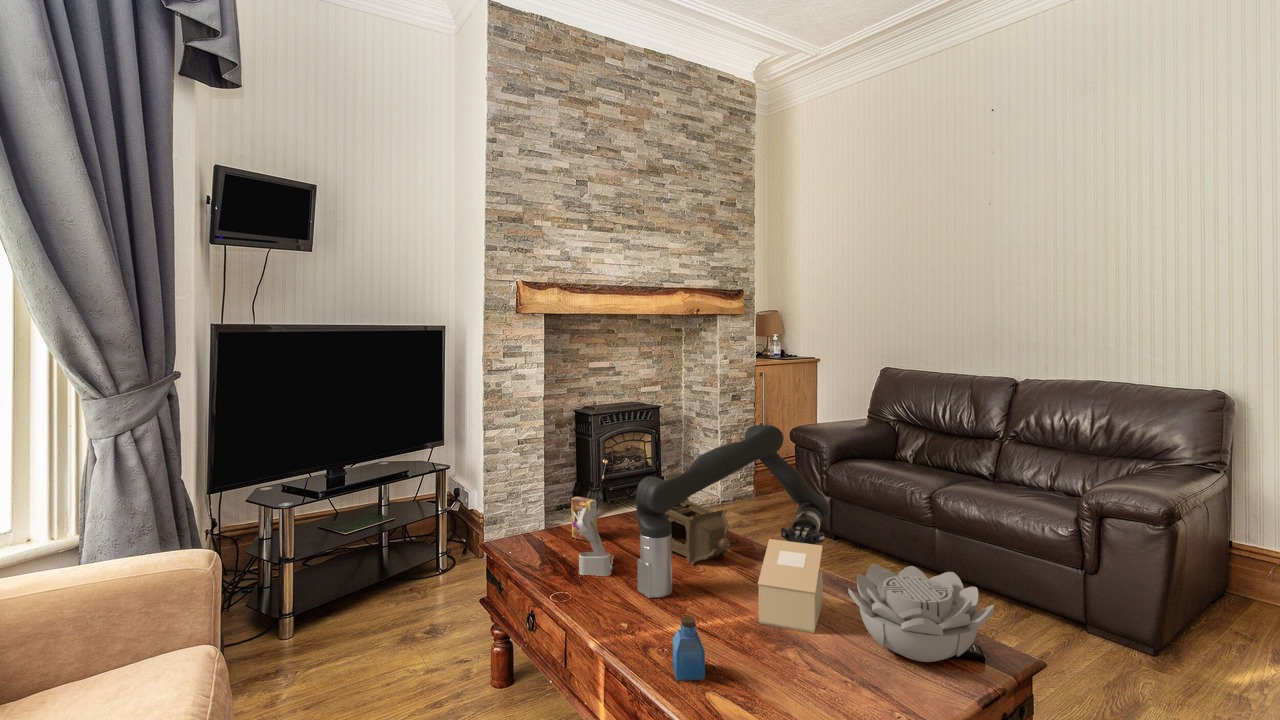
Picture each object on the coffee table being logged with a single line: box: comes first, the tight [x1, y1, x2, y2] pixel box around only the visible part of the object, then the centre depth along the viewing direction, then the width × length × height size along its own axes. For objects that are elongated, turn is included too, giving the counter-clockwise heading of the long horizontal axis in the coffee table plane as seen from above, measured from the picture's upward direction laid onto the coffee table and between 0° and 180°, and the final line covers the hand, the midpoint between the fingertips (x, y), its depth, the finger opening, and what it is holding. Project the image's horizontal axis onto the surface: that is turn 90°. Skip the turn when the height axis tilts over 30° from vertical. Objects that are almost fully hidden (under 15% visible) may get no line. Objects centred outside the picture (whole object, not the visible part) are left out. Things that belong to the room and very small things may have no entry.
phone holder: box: [577, 507, 615, 576], centre depth 196 cm, size 17×10×18 cm, turn 178°
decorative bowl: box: [848, 563, 995, 663], centre depth 143 cm, size 30×30×15 cm
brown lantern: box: [665, 497, 731, 566], centre depth 207 cm, size 35×18×18 cm, turn 36°
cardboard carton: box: [758, 569, 823, 634], centre depth 162 cm, size 16×14×10 cm
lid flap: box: [757, 538, 824, 594], centre depth 160 cm, size 16×14×1 cm
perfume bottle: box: [672, 615, 706, 681], centre depth 135 cm, size 6×6×12 cm
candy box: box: [570, 495, 598, 541], centre depth 221 cm, size 9×4×15 cm, turn 57°
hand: (797, 544), depth 171 cm, fingers closed
